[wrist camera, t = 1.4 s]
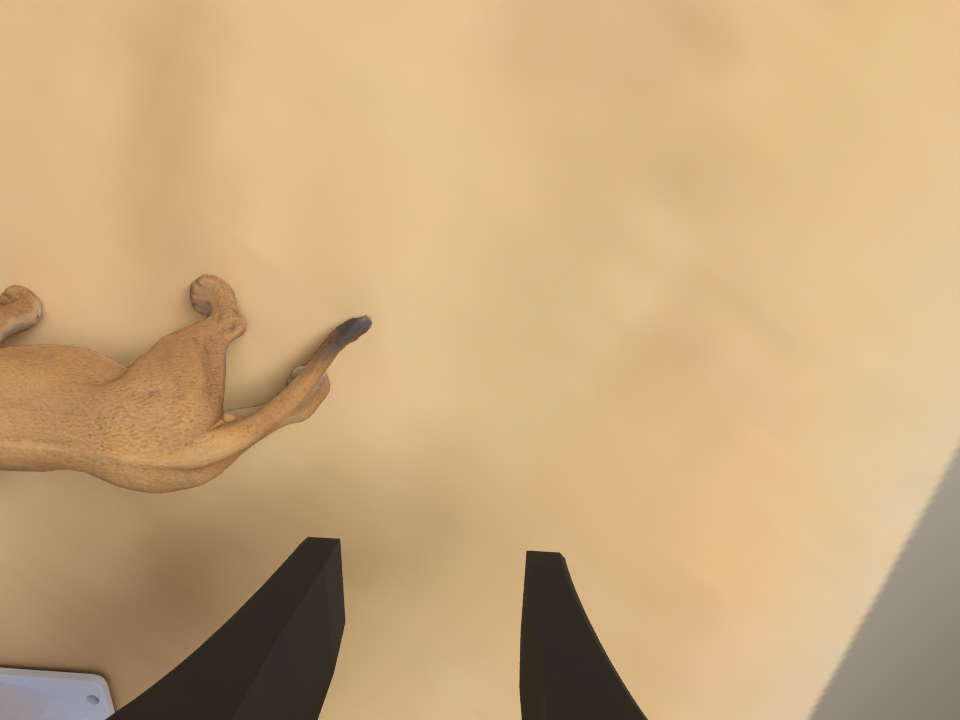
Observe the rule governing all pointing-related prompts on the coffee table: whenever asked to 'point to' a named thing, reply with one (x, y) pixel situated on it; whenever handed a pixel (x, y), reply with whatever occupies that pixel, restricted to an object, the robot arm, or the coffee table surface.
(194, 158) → the coffee table surface
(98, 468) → the lion figurine
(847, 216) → the coffee table surface
